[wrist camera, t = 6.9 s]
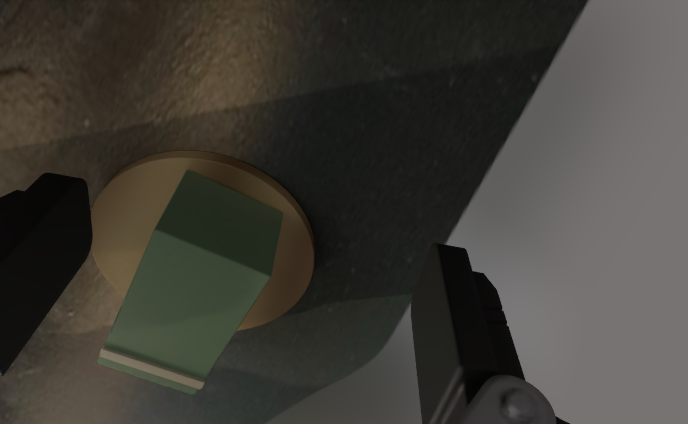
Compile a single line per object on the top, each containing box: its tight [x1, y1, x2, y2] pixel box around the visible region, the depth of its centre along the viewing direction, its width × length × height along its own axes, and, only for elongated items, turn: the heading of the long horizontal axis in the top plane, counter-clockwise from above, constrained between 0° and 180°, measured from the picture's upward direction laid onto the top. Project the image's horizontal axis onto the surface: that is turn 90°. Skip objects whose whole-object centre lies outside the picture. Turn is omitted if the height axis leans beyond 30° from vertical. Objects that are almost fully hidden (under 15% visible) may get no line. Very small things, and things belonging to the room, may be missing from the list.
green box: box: [97, 170, 283, 395], centre depth 31 cm, size 12×6×6 cm, turn 151°
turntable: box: [91, 150, 315, 331], centre depth 34 cm, size 15×15×1 cm
